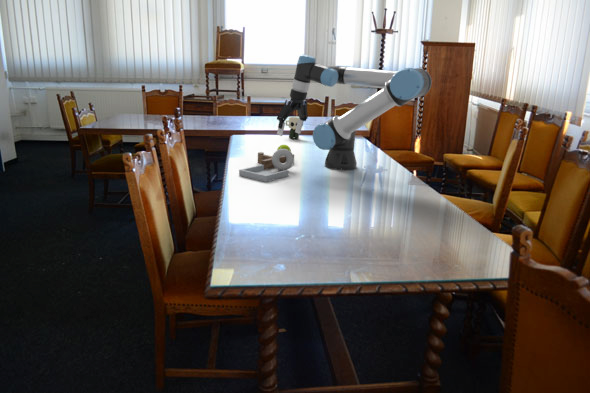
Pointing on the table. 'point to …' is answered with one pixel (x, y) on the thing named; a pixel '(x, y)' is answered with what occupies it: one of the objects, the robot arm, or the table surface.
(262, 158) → the t rack
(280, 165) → the donut
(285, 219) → the table surface
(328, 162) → the robot arm
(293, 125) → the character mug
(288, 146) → the tennis ball
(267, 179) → the tray
